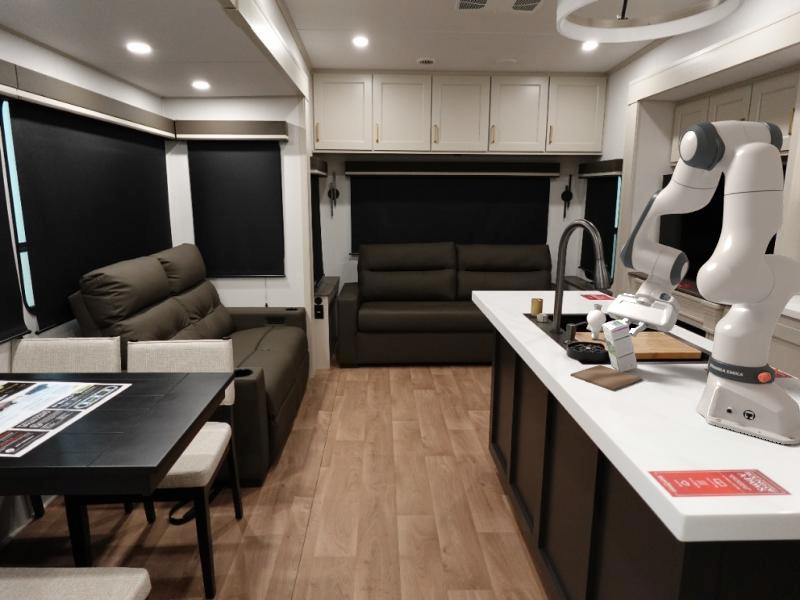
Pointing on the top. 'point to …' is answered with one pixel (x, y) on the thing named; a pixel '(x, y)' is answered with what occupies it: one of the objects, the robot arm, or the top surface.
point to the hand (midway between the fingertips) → (627, 334)
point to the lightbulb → (596, 322)
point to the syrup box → (620, 345)
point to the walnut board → (606, 377)
